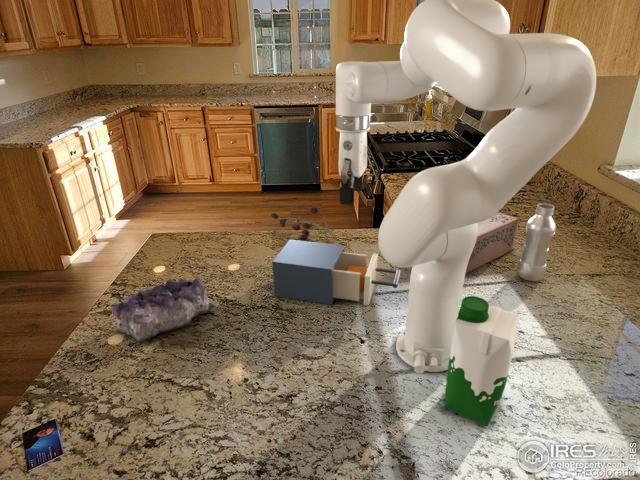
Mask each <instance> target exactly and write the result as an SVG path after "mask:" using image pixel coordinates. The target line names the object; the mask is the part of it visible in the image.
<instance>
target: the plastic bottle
mask: <svg viewBox="0 0 640 480" xmlns="http://www.w3.org/2000/svg"><path fill="white" fill-rule="evenodd" d="M536 206H537V207H536V209H535V214H534V215H533V216H532V217H530V218H529V220H528V221H527V222H526V225H525V239H524V246H523V250H522V255H521V257H520V259H519V262H518V263H517V269H516V271H517V274H518V276H519V277H520V278H521V279H523V280H526V281H529V282H539V281H541V280H542V279H543V278H544V277H545V275H546V274H547V258H548V252H549V249H550V245H551V243H552V240H553V237H554V235H555V234H556V230H557V224H556V221H555V220H554V218H553V216H554V212H555V208H556V207H555V206H554V205H552V204H549V203H538V204H537V205H536Z"/></svg>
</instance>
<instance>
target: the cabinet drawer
mask: <svg viewBox="0 0 640 480" xmlns="http://www.w3.org/2000/svg"><path fill="white" fill-rule="evenodd" d="M378 261H379V254H378V253H372V255H371V258H370V261H369V264H368V254H365V253H364V254H363V253H357V252H346V251H344V252H342V254H341V256H340V258H339V260H338V262H337V264H336V266H335V267H334V269H333V297H334V298H335V299H342V300H348V301H355V302H359V301H360V298H361V296H362V292H360V273H358V272H350V271H347V269H348V267H349V265H352V266H360V267H367V272H366V274H365V284H364V291H363V306H369V305H370V302H371V299H372V297H373V293H374V291H375V287H376V285H379V286H387V287H392V288H393V289H397V288H398V287H399V283H400V278H401V273H402V271H401V269H398V268H397V269H396V270H395V269H387V268H379V267H378ZM378 272H379V273H380V272H381V273H389V274H394V277H393V282H389V281H381V280H377V279H378Z"/></svg>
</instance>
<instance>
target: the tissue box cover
mask: <svg viewBox="0 0 640 480" xmlns="http://www.w3.org/2000/svg"><path fill="white" fill-rule="evenodd" d="M518 224H519V218H518V217H515V216H512V215H509V214H506V213H503V212H500V211H498V212H497V213H496V214H495V215H493V216H492V217H490V218H489V219H486V220H484V221H481V222H478V235H477V239H476V243H475V246H474V248H473V251H472V253H471V256H470V259H469V261H468V265H467V269H466V273H465V275H466V274H468V273H469V272H471V271H474V270H475V269H477V268H479V267H481V266H483V265H485V264H487V263H489V262H492V261H493V260H495V259H497V258H499V257H501V256H503V255H505V254H506V253H509V252H511V251H512V250H513V247H514V243H515V238H516V233H517V228H518Z"/></svg>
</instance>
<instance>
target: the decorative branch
mask: <svg viewBox="0 0 640 480" xmlns="http://www.w3.org/2000/svg"><path fill="white" fill-rule="evenodd" d="M309 212H310V213H311V214H313V215H314V214H317V213H318V212H320V213H322V216H323V219H322V222H320V223H314V222H311V221H312V219H309V221H304V220H306V219H307V217H304V218H302V219H301V221H300V218H301V216H298V217H289V216H287V217H286V218H284V217H283V218H281V217H280V216H279V214H278V213H276V212H272V213H271V214H270V216H271V218H272V219H275V220H277V219H278V221H279V226H280V227H281V228H284V227H285V226H287V224H288V223H289V222H290V221H292V220H293V221H292V223H293V224H292V226H291V227H292V229H293V230H294V231H299V230H301V228H302V227H303V229H302V230H301V234H300V235H299V240H300V241H308V239H313V238H316V237H318V236H319V235H325V238H326V240H327V243H329V242H330V240H329V237H328V234H327V233H329V234H330V235H331V236H332V237H334V238H335V239H338V236H337V235H336V234H335V233H334V232H333V231H332V230H331V229H330V228H328V226H329V225H328V224H329V223H328V222H327V221H326V220H325V219H326V216H325V214H324V212H322V210H320V209H319V208H318V207H317V206H311V208H309ZM323 223H324V224H325V227H321V226H320V225H322V224H323ZM313 226H314V228H313ZM311 228H312V229H311ZM310 229H311V230H310ZM315 229H318V230H319V232H317V234H316V235H313V236H310V234H311V233H312V232H313V231H314V230H315Z"/></svg>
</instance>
